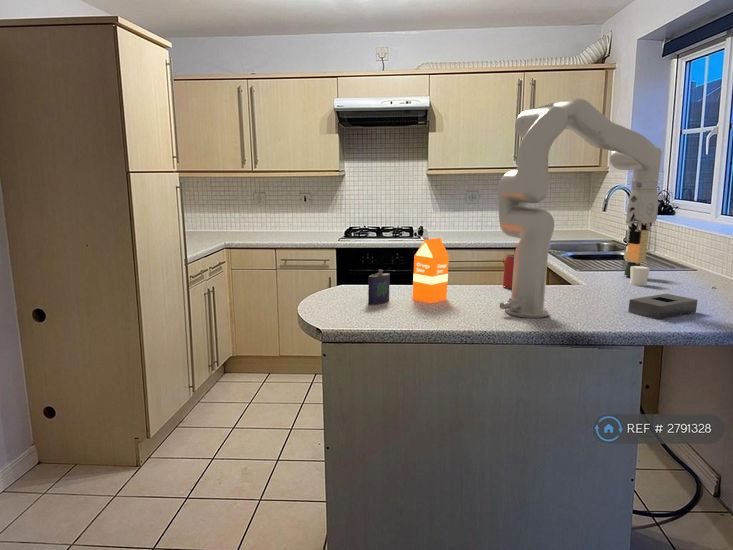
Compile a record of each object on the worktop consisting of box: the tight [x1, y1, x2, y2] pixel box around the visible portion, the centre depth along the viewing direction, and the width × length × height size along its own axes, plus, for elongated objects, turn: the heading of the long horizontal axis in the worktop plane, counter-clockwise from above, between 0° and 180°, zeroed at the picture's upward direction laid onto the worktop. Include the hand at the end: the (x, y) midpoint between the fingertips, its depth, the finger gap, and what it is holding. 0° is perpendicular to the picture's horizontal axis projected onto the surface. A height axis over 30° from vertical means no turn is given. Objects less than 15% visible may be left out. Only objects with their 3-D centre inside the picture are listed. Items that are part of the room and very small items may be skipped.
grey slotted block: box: [627, 293, 698, 320], centre depth 171 cm, size 20×10×4 cm, turn 121°
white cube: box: [629, 265, 651, 287], centre depth 216 cm, size 7×7×7 cm
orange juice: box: [412, 237, 450, 304], centre depth 179 cm, size 8×9×20 cm
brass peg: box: [627, 228, 650, 262], centre depth 179 cm, size 4×4×10 cm
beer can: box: [502, 254, 515, 290], centre depth 203 cm, size 7×7×12 cm
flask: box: [367, 269, 391, 306], centre depth 173 cm, size 9×3×11 cm, turn 138°
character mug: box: [623, 245, 644, 278], centre depth 231 cm, size 11×7×13 cm, turn 108°
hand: (637, 242), depth 179 cm, fingers closed on brass peg, 4 cm apart
